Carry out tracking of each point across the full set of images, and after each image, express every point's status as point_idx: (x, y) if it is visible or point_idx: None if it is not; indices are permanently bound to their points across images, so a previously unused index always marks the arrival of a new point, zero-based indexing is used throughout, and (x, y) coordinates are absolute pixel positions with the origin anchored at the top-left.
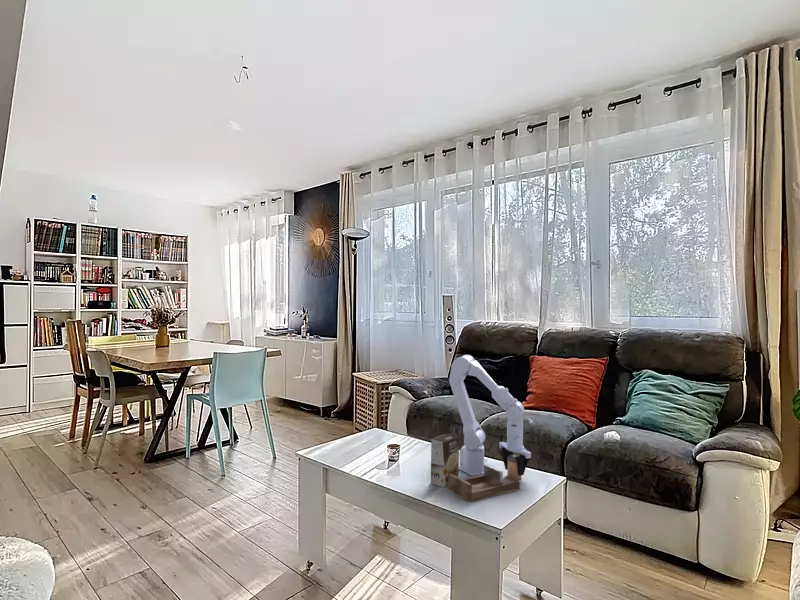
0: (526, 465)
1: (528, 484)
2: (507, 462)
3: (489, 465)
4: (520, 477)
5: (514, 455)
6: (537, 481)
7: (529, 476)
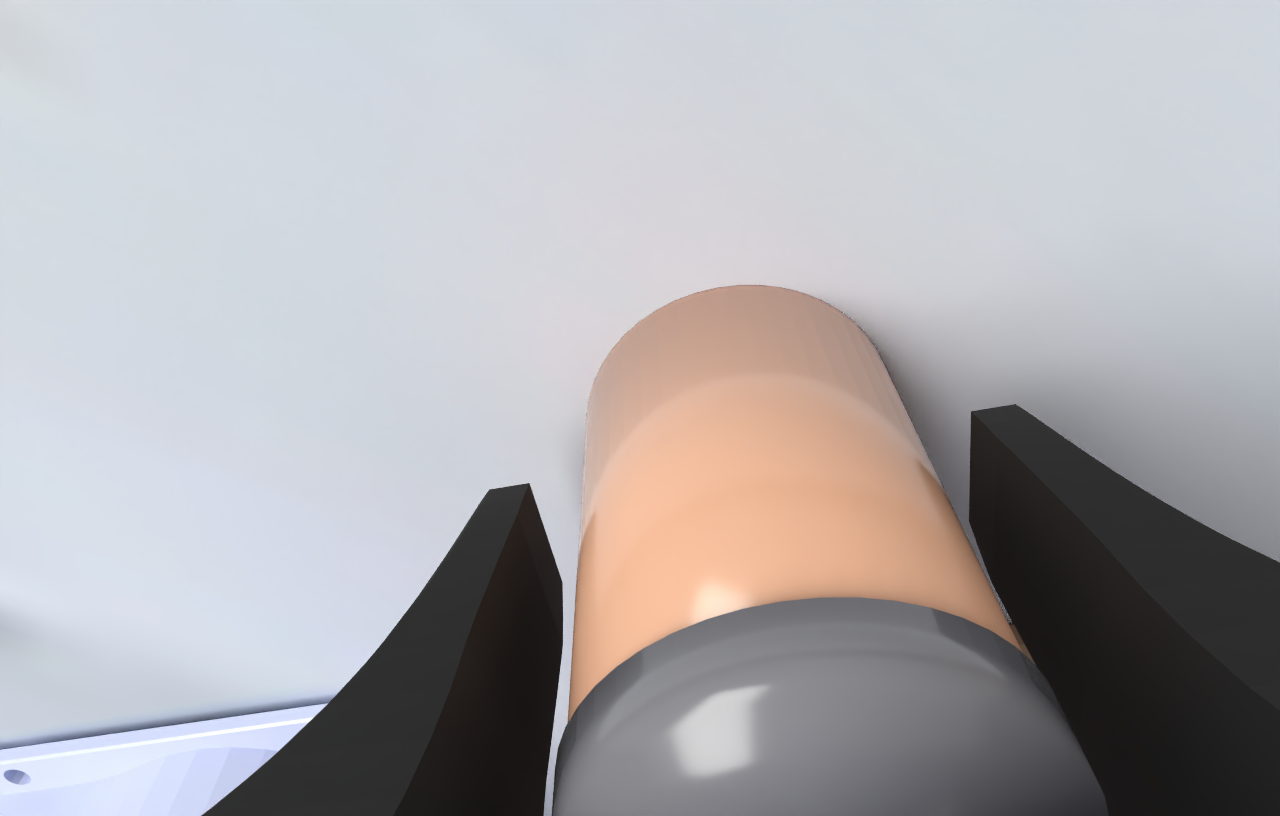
0: (1233, 544)
1: (1196, 357)
2: (527, 699)
3: None
4: (891, 381)
5: (626, 802)
6: (1218, 39)
7: (826, 31)
